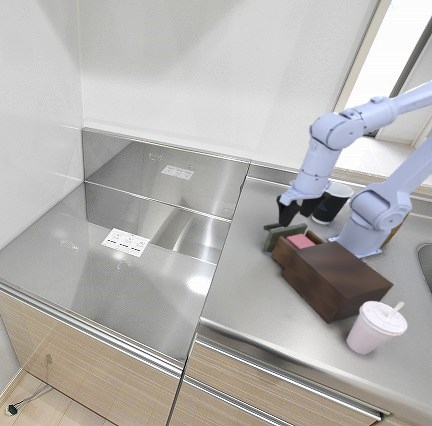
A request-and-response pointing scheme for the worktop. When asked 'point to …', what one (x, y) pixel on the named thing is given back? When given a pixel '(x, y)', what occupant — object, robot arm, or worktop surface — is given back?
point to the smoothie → (375, 326)
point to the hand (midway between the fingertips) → (293, 220)
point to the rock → (394, 231)
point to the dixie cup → (332, 203)
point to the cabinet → (334, 280)
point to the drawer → (280, 244)
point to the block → (299, 241)
